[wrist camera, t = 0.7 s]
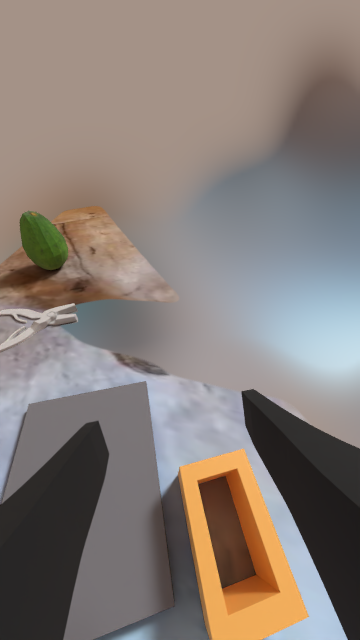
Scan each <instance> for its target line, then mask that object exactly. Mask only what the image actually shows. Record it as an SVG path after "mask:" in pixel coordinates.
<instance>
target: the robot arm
mask: <svg viewBox="0 0 360 640" xmlns="http://www.w3.org/2000/svg"><path fill="white" fill-rule="evenodd" d="M242 400H243V408H244V416H245V425H246V428H247V430H248V433H249V435H250V437H251V440H252V442H253V444H254V446H255V448H256V450H257V452H258V454H259V456H260V457H261V459H262V461H263V463H264V465H265V466H266V468H267V470H268V472H269V474H270V475H271V477H272V479H273V481H274V483H275V484H276V486H277V488H278V490H279V491H280V493H281V495H282V497H283V499H284V500H285V502H286V504H287V506H288V508H289V510H290V512H291V514H292V516H293V518H294V521H295V523H296V525H297V527H298V529H299V531H300V533H301V536H302V538H303V540H304V542H305V544H306V546H307V549H308V551H309V553H310V555H311V557H312V560H313V562H314V564H315V566H316V568H317V571H318V573H319V575H320V577H321V580H322V582H323V584H324V586H325V589H326V591H327V593H328V595H329V598H330V600H331V602H332V605H333V607H334V609H335V611H336V614H337V616H338V618H339V620H340V623H341V625H342V627H343V630H344V632H345V634H346V637H347V639H348V640H360V449H359V448H357V447H355V446H352V445H350V444H348V443H346V442H343V441H341V440H339V439H337V438H335V437H333V436H331V435H329V434H327V433H325V432H323V431H321V430H319V429H317V428H315V427H313V426H312V425H310V424H308V423H306V422H305V421H303V420H301V419H299V418H298V417H296V416H294V415H292V414H291V413H289V412H288V411H286V410H284V409H283V408H281V407H280V406H278V405H277V404H275V403H274V402H272V401H270V400H269V399H267V398H266V397H265V396H263V395H262V394H260V393H258V392H257V391H256V390H254V389H252V390H247V391H242ZM108 459H109V451H108V448H107V445H106V442H105V439H104V436H103V433H102V430H101V427H100V424H99V421H94V422H89V423H86V424H85V425H83V426H82V427H81V428H80V429H79V430H78V431H77V432H76V433H75V434H74V435H73V436H72V437H71V438H70V439H69V440H68V441H67V442H66V443H65V444H64V445H63V446H62V447H61V448H60V449H59V450H58V451H57V452H56V453H55V454H54V455H53V456H52V458H51V459H50V460H49V461H48V462H47V463H45V464H44V465H43V466H42V467H41V468H40V469H39V470H38V471H37V472H36V473H35V474H34V475H33V476H32V477H31V478H30V479H29V480H28V481H27V482H26V483H24V484H23V485H22V486H21V487H20V488H19V489H18V490H17V491H16V492H15V493H13V494H12V495H11V496H10V497H9V498H8V499H7V500H6V501H4V502H3V503H2V504H1V505H0V640H63V639H64V634H65V629H66V625H67V620H68V615H69V610H70V606H71V601H72V596H73V592H74V587H75V583H76V579H77V574H78V570H79V565H80V561H81V557H82V553H83V550H84V546H85V542H86V539H87V536H88V532H89V529H90V526H91V523H92V519H93V516H94V513H95V510H96V506H97V503H98V500H99V497H100V493H101V490H102V486H103V483H104V480H105V475H106V470H107V465H108Z"/></svg>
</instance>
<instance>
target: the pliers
mask: <svg viewBox="0 0 360 640" xmlns="http://www.w3.org/2000/svg"><path fill="white" fill-rule="evenodd" d="M75 312H78V310H77V308H76V306H75V304H74V303H73V304H69V305H64V306H60V307H56V308H52V309H50V310H47V311H44V313H38V312H35V311H33V310H28V309H8V310H1V311H0V316H4V315H13V316H14V318H15V319H16V320H17V321H19V322H23V323H27V321H26V320H21V319H19V318H18V316H17V315H20V316H25V317H28V318H30V319H39V320H36V321H34V322H33V324H32V325H31V327H30V328H29V329H27V330H26V331H24V332H23V333H22V334H20V335H19V336H17V337H16V338H14V337H15V336H16V335H17V334H18V333H19V332H21V331H22V330H24V329H26V327H25V326H24V327H22V328H20V329H18V330H17V331H15V332H14V333H13V334H12V335H11V336H10V337H9V338H8V339H7V340H6V341H5V342H4V343H3V344H0V352H2V351H4V350H7V349H9V348H12V347H14V346H16V345H18V344H20V343H22V342H24V341H25V340H27V339H29V338H30V337H31V336H32V335H34V334H35V333H36V332H38V331H40V330H41V329H43V328H46V326H47V325H58V324H59V325H60V326H61V325H66V324H72V323H77V322H78V318H77V316H76V314H73V313H75ZM13 338H14V339H13Z"/></svg>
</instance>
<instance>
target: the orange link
mask: <svg viewBox="0 0 360 640" xmlns="http://www.w3.org/2000/svg"><path fill="white" fill-rule="evenodd" d="M223 476H226V479H227V482H228V485H229V488H230V492H231V495H232V498H233V501H234V505H235V508H236V511H237V514H238V517H239V521H240V524H241V527H242V530H243V534H244V537H245V540H246V543H247V547H248V550H249V553H250V556H251V560H252V563H253V566H254V569H255V572H256V575H254V576H252V577H249V578H247V579H245V580H242V581H240V582H237V583H235V584H232V585H230V586H228V587H225V588H223V589H222V587H221V583H220V578H219V574H218V569H217V565H216V561H215V556H214V552H213V548H212V543H211V539H210V535H209V530H208V526H207V521H206V517H205V513H204V508H203V504H202V500H201V495H200V491H199V487H198V484H200V483H203V482H207V481H210V480H213V479H216V478H220V477H223ZM178 478H179V483H180V489H181V494H182V500H183V505H184V511H185V516H186V522H187V527H188V533H189V538H190V544H191V550H192V555H193V561H194V566H195V572H196V577H197V583H198V588H199V594H200V599H201V605H202V610H203V616H204V621H205V626H206V629H207V632H208V636H209V639H210V640H262V639H264V638H266V637H268V636H270V635H272V634H274V633H276V632H278V631H280V630H282V629H284V628H287V627H289V626H291V625H293V624H295V623H297V622H299V621H301V620H303V619H305V618H307V617H309V616H308V613H307V610H306V608H305V605H304V603H303V600H302V598H301V595H300V592H299V590H298V587H297V585H296V582H295V579H294V577H293V574H292V572H291V569H290V567H289V564H288V561H287V559H286V556H285V554H284V551H283V548H282V546H281V543H280V541H279V538H278V536H277V533H276V530H275V528H274V525H273V523H272V520H271V517H270V515H269V512H268V510H267V507H266V505H265V502H264V499H263V497H262V494H261V492H260V489H259V486H258V484H257V481H256V479H255V476H254V474H253V471H252V468H251V466H250V463H249V461H248V458H247V455H246V453H245V450H244V449H241V450H238V451H234V452H230V453H227V454H223V455H220V456H216V457H213V458H209V459H206V460H202V461H199V462H195V463H192V464H188V465H184V466H181V467H179V472H178Z"/></svg>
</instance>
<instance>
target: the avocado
mask: <svg viewBox="0 0 360 640" xmlns="http://www.w3.org/2000/svg"><path fill="white" fill-rule="evenodd" d="M20 231H21V239H22V245H23V248H24V250H25V252H26V254H27V256H28V257H29V258H30V259H31V260H32V261H33V262H34V263H35V264H36V265H38V266H40V267H41V268H43V269H46V270H55V269H58V268H60V267H61V266H62V265H63V264H64V263H65V261H66V260H67V257H68V247H67V244H66V241H65V239H64V237H63V236H62V234H61V233H60V232H59V231H58V229H57V228H56V227H55V226H54V225H53V224H52V223H51V222H50V221H49V220H48V219H46V218H45V217H44V216H42V215H40V214H38V213H37V212H32V211H28V212H25V213H23V214H22V217H21V219H20Z"/></svg>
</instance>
